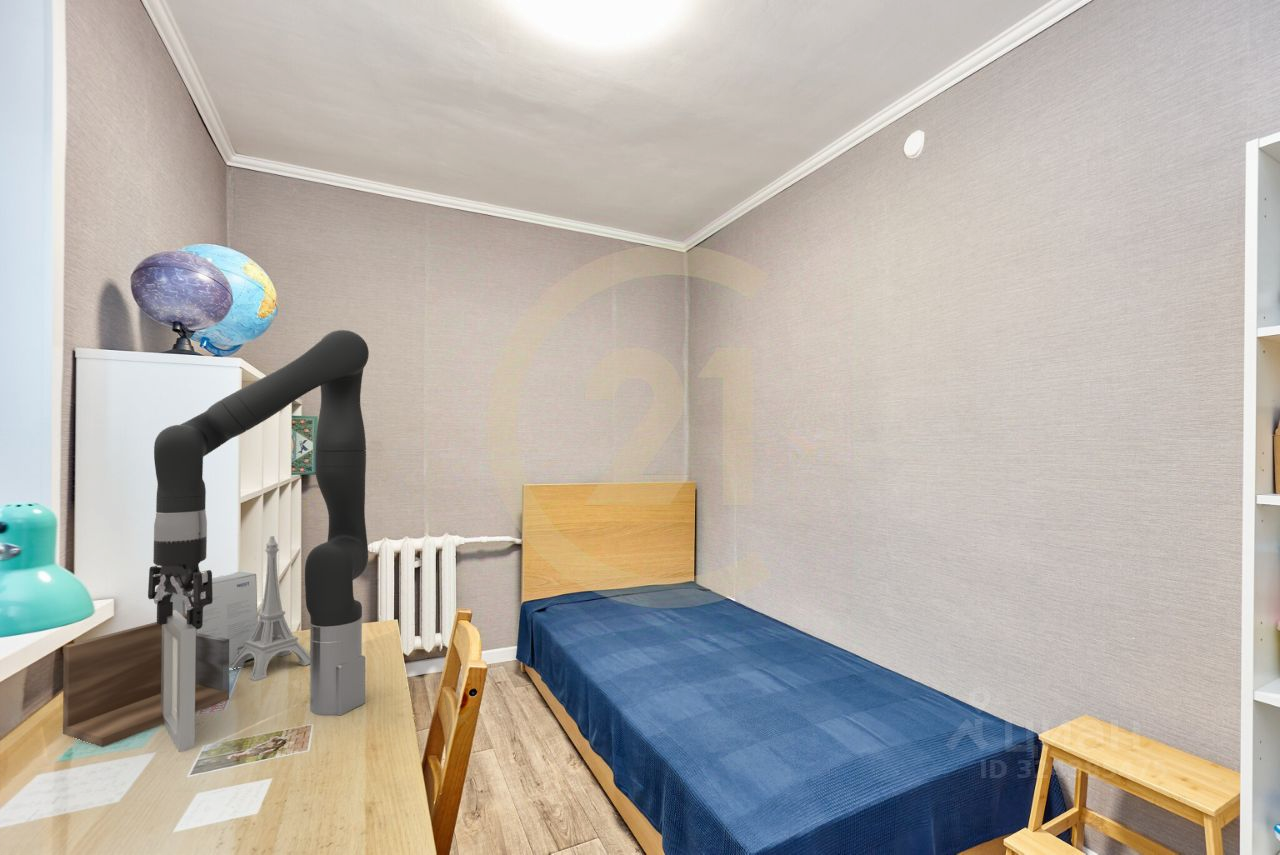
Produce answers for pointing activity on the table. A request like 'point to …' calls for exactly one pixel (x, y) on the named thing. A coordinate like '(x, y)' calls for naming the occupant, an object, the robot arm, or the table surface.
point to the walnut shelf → (131, 682)
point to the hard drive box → (229, 610)
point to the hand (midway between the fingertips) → (179, 626)
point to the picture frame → (178, 680)
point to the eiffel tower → (270, 626)
